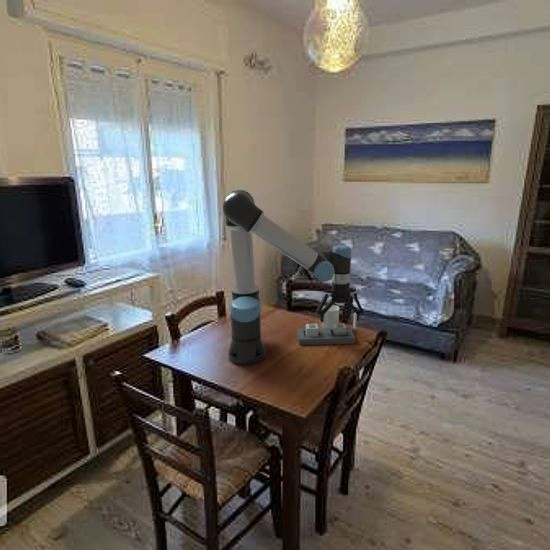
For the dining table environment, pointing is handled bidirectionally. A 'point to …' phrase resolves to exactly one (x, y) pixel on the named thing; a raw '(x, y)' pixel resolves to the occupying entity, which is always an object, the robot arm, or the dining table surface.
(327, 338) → the grey socket block
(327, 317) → the white cup
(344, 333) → the block
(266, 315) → the dining table surface
